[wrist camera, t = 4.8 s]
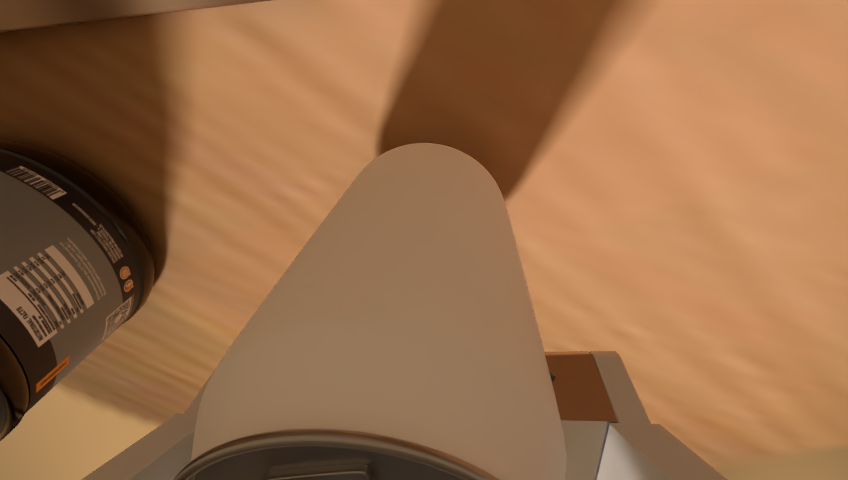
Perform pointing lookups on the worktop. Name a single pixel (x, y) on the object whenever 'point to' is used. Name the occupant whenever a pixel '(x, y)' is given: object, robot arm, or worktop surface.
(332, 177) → the worktop surface
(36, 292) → the supplement container
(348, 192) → the can
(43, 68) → the worktop surface
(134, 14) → the walnut board
